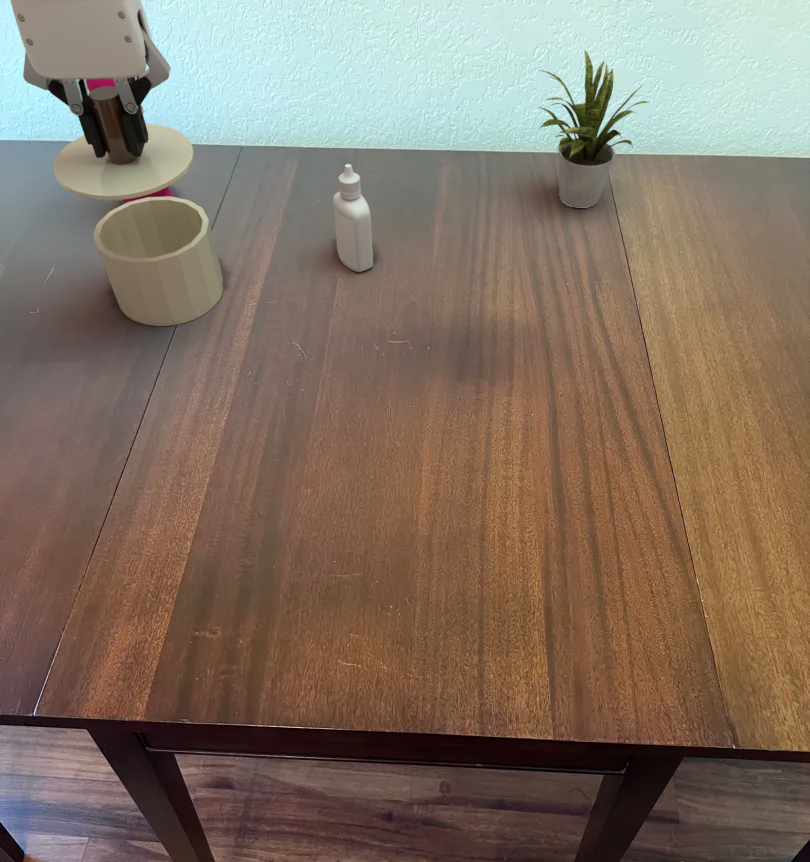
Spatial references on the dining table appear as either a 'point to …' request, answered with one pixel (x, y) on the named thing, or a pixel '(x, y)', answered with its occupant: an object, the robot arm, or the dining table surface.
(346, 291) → the dining table surface
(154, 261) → the pot
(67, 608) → the dining table surface
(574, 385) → the dining table surface
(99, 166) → the lid
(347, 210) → the eye dropper bottle
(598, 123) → the house plant
